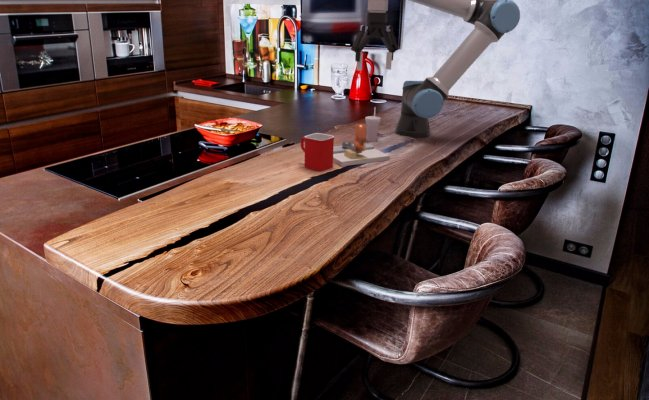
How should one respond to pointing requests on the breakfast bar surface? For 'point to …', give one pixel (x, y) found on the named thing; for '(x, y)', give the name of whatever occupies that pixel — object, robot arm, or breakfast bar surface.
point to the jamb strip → (341, 150)
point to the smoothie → (372, 127)
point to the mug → (318, 151)
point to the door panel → (359, 157)
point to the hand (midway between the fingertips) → (373, 69)
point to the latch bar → (357, 139)
